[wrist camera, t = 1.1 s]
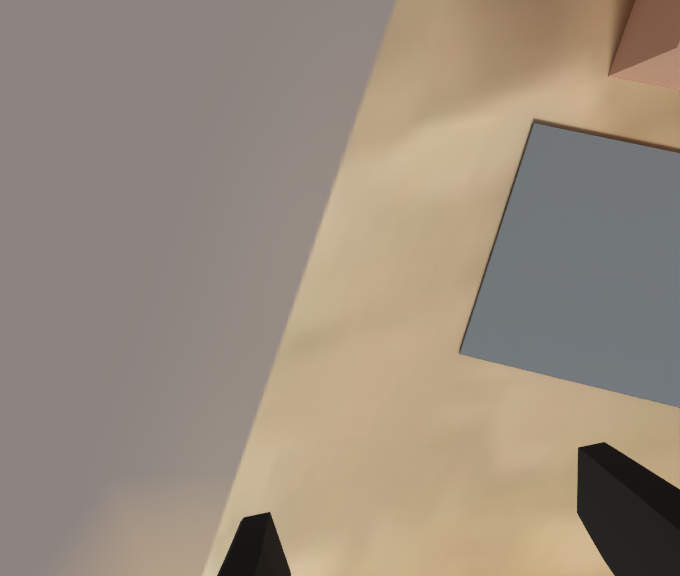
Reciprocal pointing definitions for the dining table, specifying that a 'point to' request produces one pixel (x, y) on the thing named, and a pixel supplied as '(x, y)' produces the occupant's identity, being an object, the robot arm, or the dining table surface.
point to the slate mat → (587, 267)
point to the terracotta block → (650, 45)
